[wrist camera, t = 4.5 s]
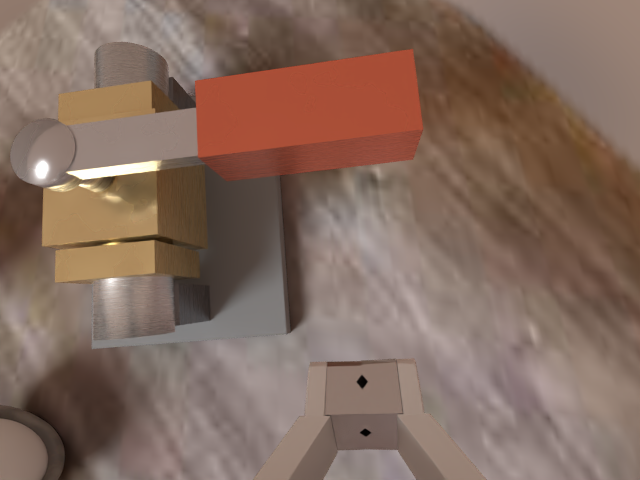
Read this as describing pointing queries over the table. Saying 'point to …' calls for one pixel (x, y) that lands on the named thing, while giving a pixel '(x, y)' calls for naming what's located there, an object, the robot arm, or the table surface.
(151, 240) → the pipe and valve
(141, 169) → the valve lever
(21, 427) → the pipe fitting
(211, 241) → the slate plate
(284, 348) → the table surface
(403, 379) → the robot arm
